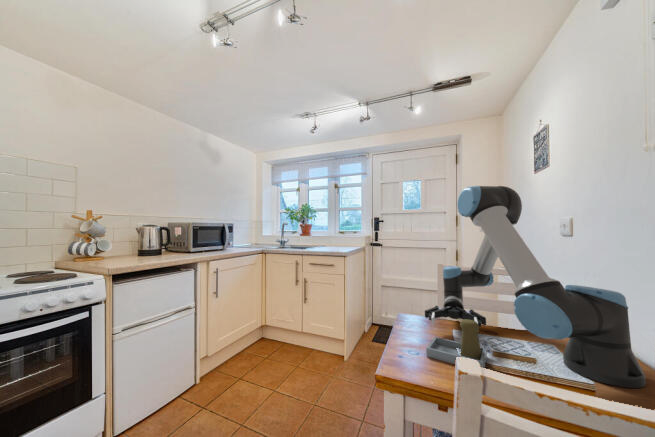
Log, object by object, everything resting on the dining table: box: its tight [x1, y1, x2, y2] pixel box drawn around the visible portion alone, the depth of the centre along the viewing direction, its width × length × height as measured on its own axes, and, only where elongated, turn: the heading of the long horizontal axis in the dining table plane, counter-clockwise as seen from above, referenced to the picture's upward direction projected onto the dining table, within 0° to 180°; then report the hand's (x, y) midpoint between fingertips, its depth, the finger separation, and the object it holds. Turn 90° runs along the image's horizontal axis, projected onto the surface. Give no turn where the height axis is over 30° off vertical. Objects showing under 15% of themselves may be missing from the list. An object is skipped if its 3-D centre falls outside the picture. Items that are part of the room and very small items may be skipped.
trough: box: [425, 336, 488, 368], centre depth 78 cm, size 16×11×3 cm
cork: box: [459, 319, 482, 361], centre depth 77 cm, size 6×6×11 cm
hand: (453, 324), depth 83 cm, fingers open, 13 cm apart
